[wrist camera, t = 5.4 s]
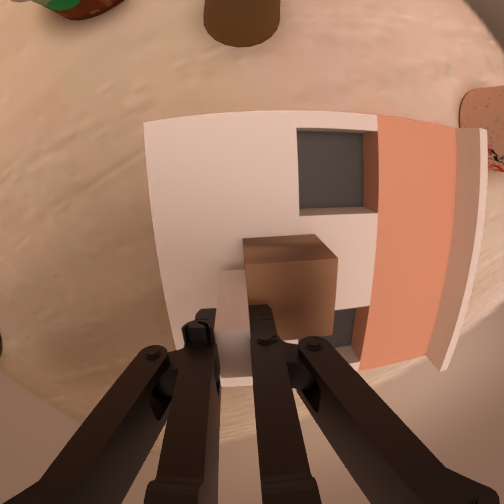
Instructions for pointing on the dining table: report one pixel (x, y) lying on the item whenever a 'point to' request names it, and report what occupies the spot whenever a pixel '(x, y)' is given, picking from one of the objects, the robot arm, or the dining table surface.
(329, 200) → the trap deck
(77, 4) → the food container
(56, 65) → the dining table surface
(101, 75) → the dining table surface
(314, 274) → the walnut block
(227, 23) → the cork
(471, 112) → the teacup with lid
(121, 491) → the robot arm
